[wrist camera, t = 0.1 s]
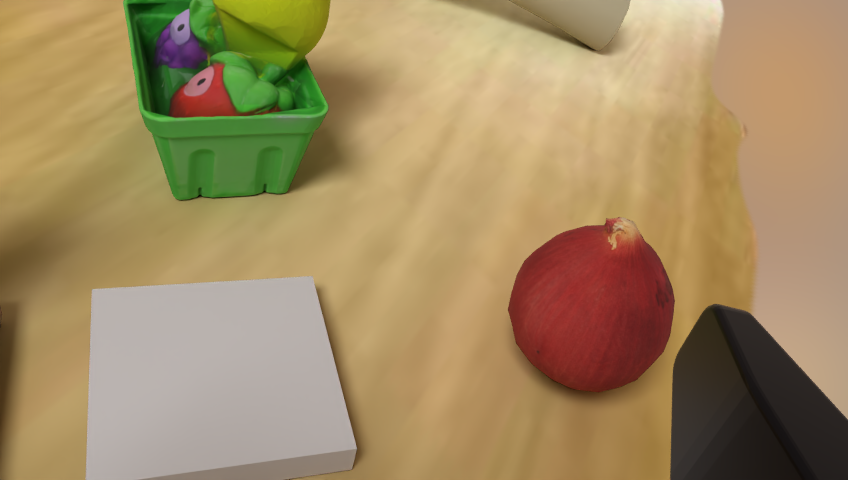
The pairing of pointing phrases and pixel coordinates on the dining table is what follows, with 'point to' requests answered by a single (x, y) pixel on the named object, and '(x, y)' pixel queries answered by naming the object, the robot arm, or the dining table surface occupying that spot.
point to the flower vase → (581, 17)
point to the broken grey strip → (214, 384)
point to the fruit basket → (227, 90)
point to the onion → (593, 306)
